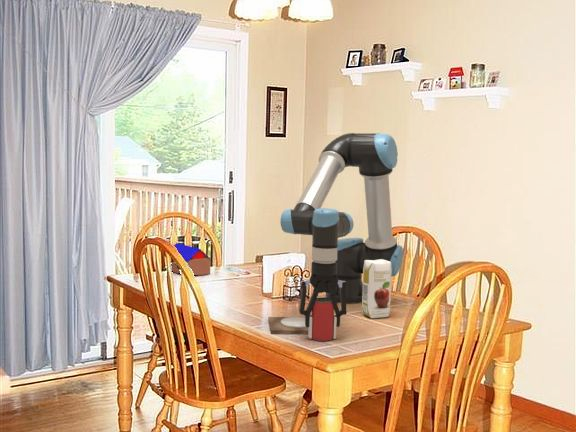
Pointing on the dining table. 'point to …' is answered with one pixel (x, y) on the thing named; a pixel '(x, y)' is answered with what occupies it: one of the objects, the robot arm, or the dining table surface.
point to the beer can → (322, 319)
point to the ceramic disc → (294, 322)
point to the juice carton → (376, 288)
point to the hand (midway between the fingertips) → (322, 337)
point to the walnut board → (284, 327)
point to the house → (193, 259)
